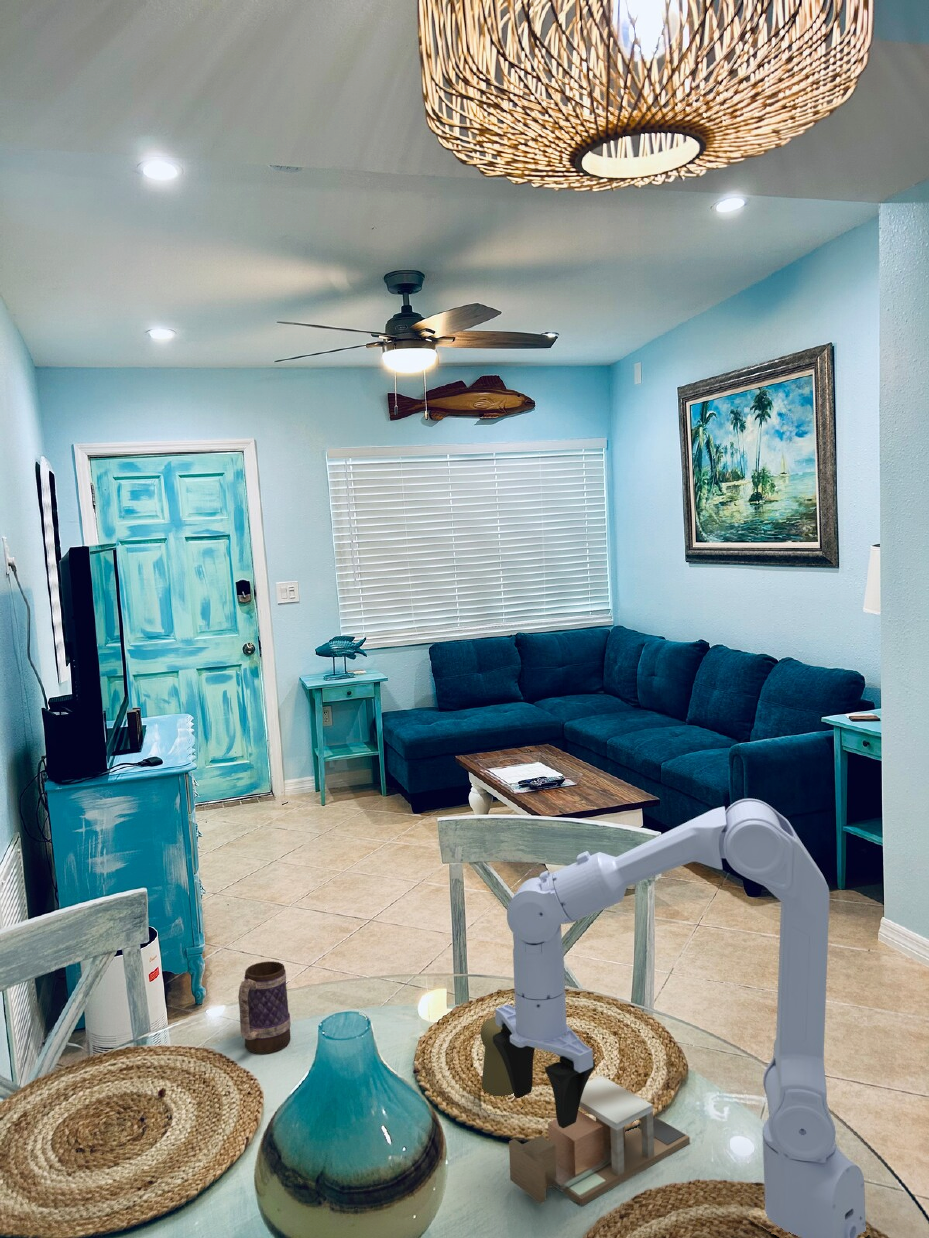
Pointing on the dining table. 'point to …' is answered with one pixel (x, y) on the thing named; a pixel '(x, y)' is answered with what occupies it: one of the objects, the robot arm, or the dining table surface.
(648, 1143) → the tunnel board
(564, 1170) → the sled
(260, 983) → the mug
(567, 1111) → the robot arm
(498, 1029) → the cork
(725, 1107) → the dining table surface
